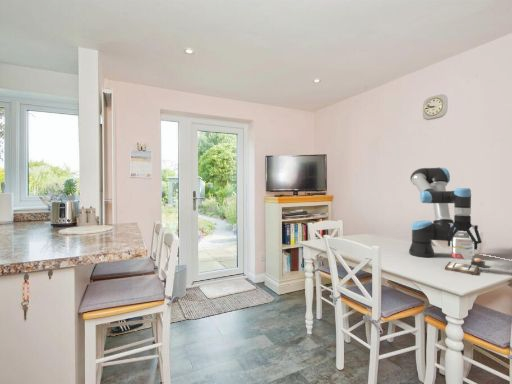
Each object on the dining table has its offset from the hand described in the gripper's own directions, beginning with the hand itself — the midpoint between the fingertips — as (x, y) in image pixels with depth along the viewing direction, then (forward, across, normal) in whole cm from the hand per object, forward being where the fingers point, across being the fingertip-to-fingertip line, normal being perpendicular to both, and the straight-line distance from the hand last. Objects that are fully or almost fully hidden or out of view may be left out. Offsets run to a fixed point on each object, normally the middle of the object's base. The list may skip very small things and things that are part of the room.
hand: (462, 253), depth 154 cm
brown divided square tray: (+9, 0, 0) cm, 9 cm away
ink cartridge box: (+3, 0, 0) cm, 3 cm away
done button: (+7, +6, +14) cm, 17 cm away
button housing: (+9, +6, +14) cm, 18 cm away
